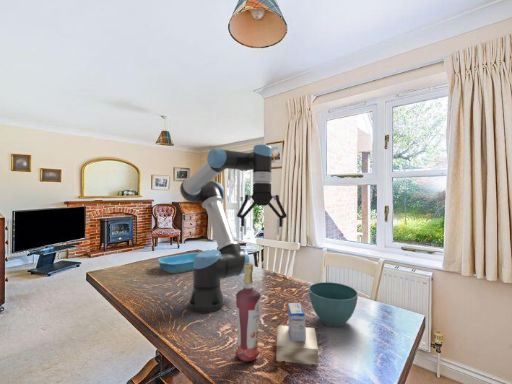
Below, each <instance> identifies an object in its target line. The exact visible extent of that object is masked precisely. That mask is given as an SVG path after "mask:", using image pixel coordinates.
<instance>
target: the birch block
mask: <svg viewBox="0 0 512 384" xmlns="http://www.w3.org/2000/svg"><path fill="white" fill-rule="evenodd" d="M277 327H278V329H277V337H276V352H275V353H276V361H277V362H282V361H285V362H286V363H292V362H293V364H304V365H311V364H316V365H315V366H318V365H319V362H318V361H319V347H318V341H317V340H318V339H317V334H316V330H315V327H307V326H305V328H306V341H305V342H292V340H291V336H290V332H289V326H288V325H282V324H280V325H278V326H277Z"/></svg>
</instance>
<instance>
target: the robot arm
mask: <svg viewBox="0 0 512 384" xmlns="http://www.w3.org/2000/svg"><path fill="white" fill-rule="evenodd" d="M272 156H273V155H272V146H270V145H268V144H254V146H253V148H252V151H251V152H244V151H242V152H241V151H235V150H229V149H222V148H212V149H210V150H209V151H208V154H207V157H206V159H207V161H205V163H204V164H202V166H200V168H199V169H197V170H196V171H195V172H194V173H193V174H192V175H191V176H188V177H185V179H184V180H183V181H182V182H181V184H180V187H179V192H180V195H181V196H182V198H183V199H184V200H186V201H187V202H190V203H200V204H201V207H202V209H205V210H206V213H207V216H208V219H209V222H210V225H211V228H212V232H213V234H214V238H215V241H216V244H217V249H208V250H204V251H203V250H202V251H200V252H197V253H198V254H196V255H195V257H194V263H193V270H192V271H193V272H192V275H193V278H192V281H193V282H192V285H193V286H192V291H191V294H190V297H189V300H188V308H189V310H190V311H192V312H195V313H201V314H204V313H205V314H206V313H207V314H208V313H214V312H217V311H219V310H220V309H222V308H223V307H224V306H225V305H224V304H225V303H224V302H225V300H224V295H223V292H222V289H221V280H223V279H226V278H227V279H228V278H232V277H237V276H240V275H243V274H244V275H245V272H244V264H245V263H250V255H249V252H248V251H247V250H246V249H244V248H241V245H240V243H238V242H237V241H235V238H234V235H233V233H232V229H231V227H230V224H229V220H228V219H227V216H226V213H225V210H224V207H223V205H222V203H223V202H224V198H225V188H224V186H223V185H222V184H221V183H220V182H218V181H214V179H215V178H216V177H217V176H218V175H220V174H221V173H223V172H224V171H225V170H226V169H228V170H239V171H240V172H243V171H244V172H245V171H246V172H247V171H252V170H253V171H252V182H253V184H252V194H251V195H250V194H245V195H244V201H243V202H242V204H241V207H239V210H238V212H237V214H236V217H237V218H240V226H241V227H243V236H247V218H246V217H247V215H248V214H249V212H251V211H252V209H254V208H255V206H259V207H260V206H265V207H266V206H268V207H270V209H271V210H272V211H273V212H274V213H275V215H276V216H277V217H278V218H277V221H276V226H277V227H276V236H278V237H279V236H280V228H282V227H283V219H286V218H287V213H286V211H285V209H284V207H283V205H282V203H281V201H280V195H278V194H276V195H272V184H271V182H272V163H273V162H272ZM251 199H252V201H253V202H252V204H251V205H250V206H249V207H248V208H247V210H246V211H244V209H245V207H246V205H247V203H248V201H250V200H251ZM272 199H273V200H274V201H275V202H276V205H277V206H278V208H279V210H280V212H281V213H279V211H278V210H277V209H276V208H275V207H274V205H273V204H272V203H271V201H272ZM243 211H244V212H243ZM242 212H243V214H242Z"/></svg>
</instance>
